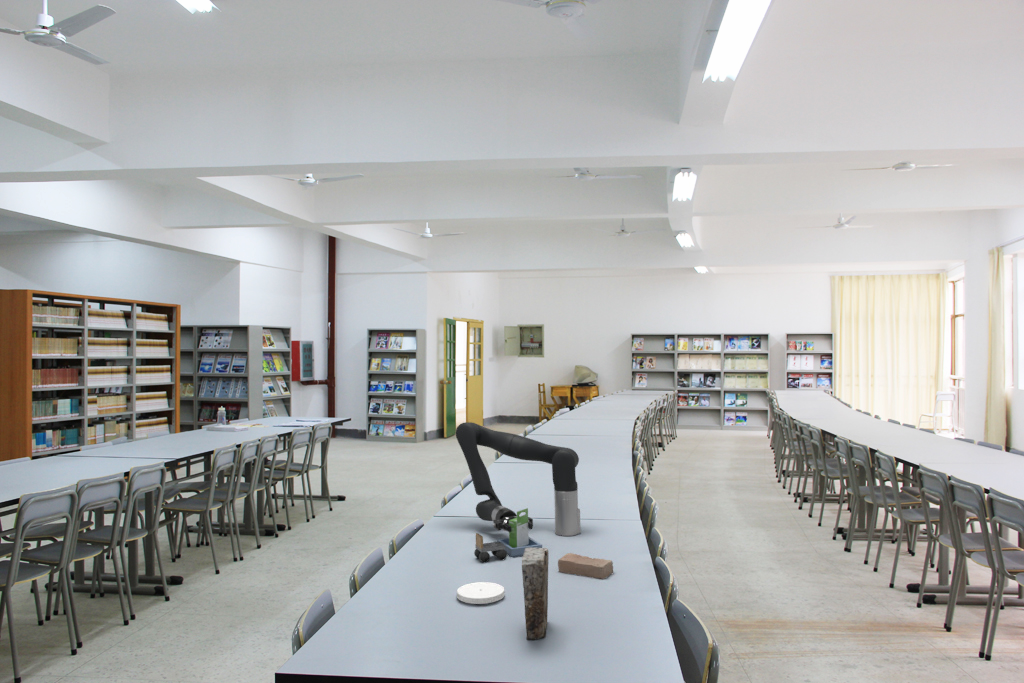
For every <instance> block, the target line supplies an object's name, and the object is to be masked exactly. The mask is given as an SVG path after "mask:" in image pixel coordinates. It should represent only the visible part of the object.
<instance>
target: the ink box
mask: <svg viewBox="0 0 1024 683" xmlns="http://www.w3.org/2000/svg"><path fill="white" fill-rule="evenodd" d="M521 513H524V514H523V515H521ZM516 515H517V518H514V519H511V520H509V525H510V526H511V532H508V538H509V546H510V547H512V548H517V547H523V546H525V545H528V544H529V537H530V535H529V534H530V533H529V528H528V517H529V508H528V507H527V508H524V509H521V510H518V511H516Z"/></svg>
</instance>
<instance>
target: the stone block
mask: <svg viewBox="0 0 1024 683" xmlns="http://www.w3.org/2000/svg"><path fill="white" fill-rule="evenodd" d="M521 558H522V559H521V573H522V574H521V575H522V587H523V599H524V620H525V629H526V637H525V639H526V640H527V641H535V640H541V639H543V638H546V635H547V627H548V609H549V608H548V607H549V549H548V548H545V547H542V548H525V551H524V555H523V556H522V557H521Z"/></svg>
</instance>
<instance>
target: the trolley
mask: <svg viewBox="0 0 1024 683" xmlns="http://www.w3.org/2000/svg"><path fill="white" fill-rule="evenodd" d="M504 549H506V546H505V545H504V544H502V543H501V542H499V541H498V542H497V541H493V542H485V543H484V536H482V535H481V534H480V533H478V532H477V533H475V550H474V553H473V554H474V556H475V558H477V559H478V558H479V559H478V560H479V561H480V562H482V563H484V562H485V563H487V562H489V560H490V559H491V555H490V553H489V552H491V554H492V555H493V556H495V557H496V558H497V559H498V560H500V561H503V559H504V560H505V559H506V558H507V557H508V555H507V552H506V551H505V550H504Z"/></svg>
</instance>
